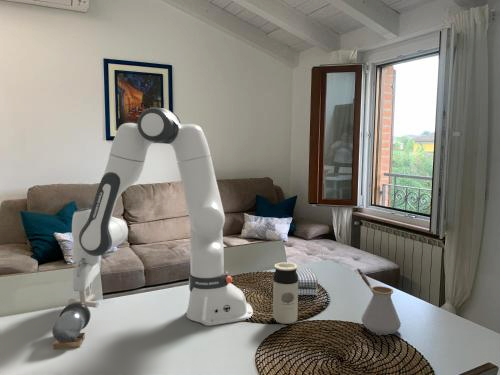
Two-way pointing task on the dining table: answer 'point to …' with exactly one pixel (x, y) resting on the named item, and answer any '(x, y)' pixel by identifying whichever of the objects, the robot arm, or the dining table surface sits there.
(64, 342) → the lidded storage canister
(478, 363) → the dining table surface
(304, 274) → the towel
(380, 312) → the coffee pot
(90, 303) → the beige crossed rods piece
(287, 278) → the travel mug
